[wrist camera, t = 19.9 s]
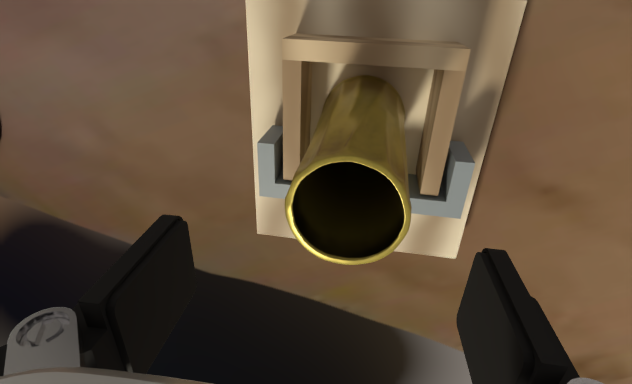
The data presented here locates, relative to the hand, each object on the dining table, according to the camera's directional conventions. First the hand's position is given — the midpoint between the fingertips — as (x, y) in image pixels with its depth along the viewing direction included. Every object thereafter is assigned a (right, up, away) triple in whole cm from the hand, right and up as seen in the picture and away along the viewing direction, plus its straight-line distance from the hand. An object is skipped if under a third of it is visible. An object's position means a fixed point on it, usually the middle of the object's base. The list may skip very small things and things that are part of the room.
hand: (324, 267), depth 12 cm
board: (+4, +8, +18) cm, 20 cm away
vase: (+3, +8, +16) cm, 18 cm away
